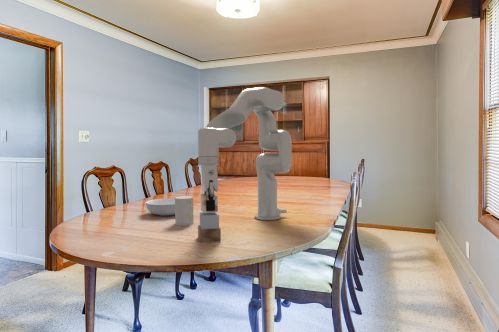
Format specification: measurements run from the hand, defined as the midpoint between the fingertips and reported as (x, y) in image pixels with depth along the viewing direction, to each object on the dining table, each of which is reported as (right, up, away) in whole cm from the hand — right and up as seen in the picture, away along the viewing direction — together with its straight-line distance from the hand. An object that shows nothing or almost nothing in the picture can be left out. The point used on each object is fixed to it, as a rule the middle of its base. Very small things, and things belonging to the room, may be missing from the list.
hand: (209, 208), depth 121 cm
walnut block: (0, -12, 0) cm, 12 cm away
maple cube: (0, -1, 0) cm, 1 cm away
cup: (-15, -10, +26) cm, 31 cm away
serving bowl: (-28, -9, +47) cm, 55 cm away
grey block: (0, -7, 0) cm, 7 cm away
